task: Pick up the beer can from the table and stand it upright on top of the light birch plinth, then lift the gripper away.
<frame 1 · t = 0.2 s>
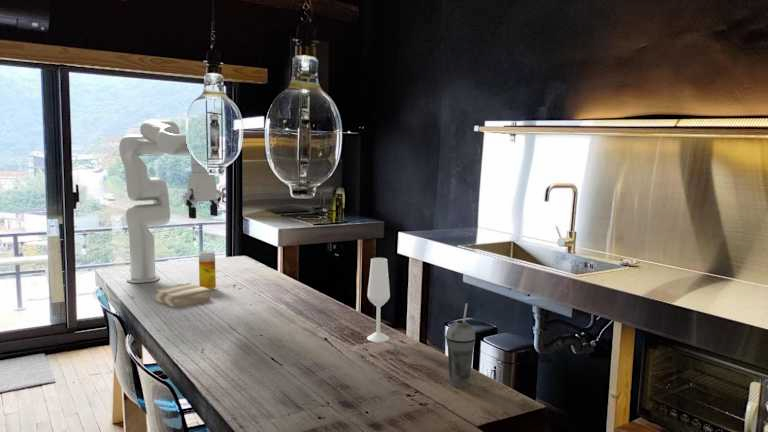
hand: (203, 216, 208), 31 cm above the table, tool pointing down, fingers open, 9 cm apart
beer can: (207, 289, 226), on the table
birch plinth: (182, 300, 210), on the table
champagne flute: (378, 338, 172), on the table
beverage cup: (459, 384, 140), on the table
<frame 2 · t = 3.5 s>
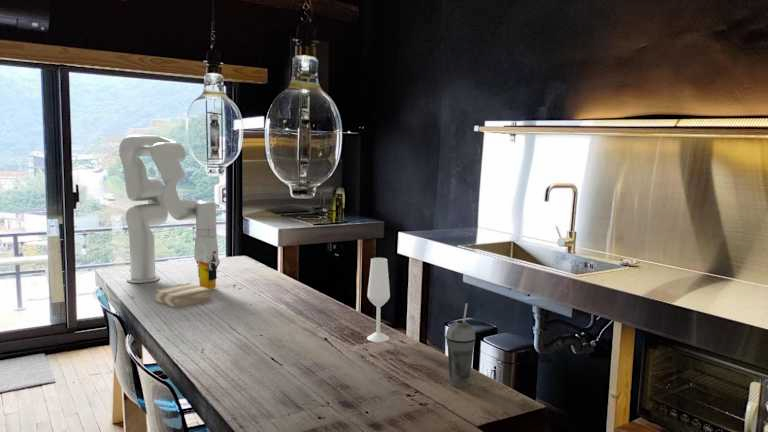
hand: (207, 277, 225), 5 cm above the table, tool pointing down, fingers closed on beer can, 6 cm apart
beer can: (207, 289, 226), on the table, touching gripper
everything else where it was.
when the fingers open (10 cm above the table, at t = 9.8 s): beer can drops 1 cm, resting on birch plinth.
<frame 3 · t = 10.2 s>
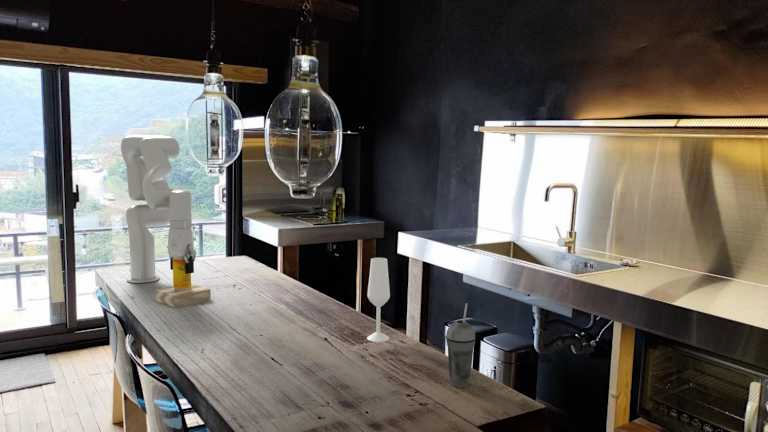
hand: (182, 271, 208), 11 cm above the table, tool pointing down, fingers open, 9 cm apart
beer can: (182, 289, 210), point 4 cm above the table, touching birch plinth
everything else where it was.
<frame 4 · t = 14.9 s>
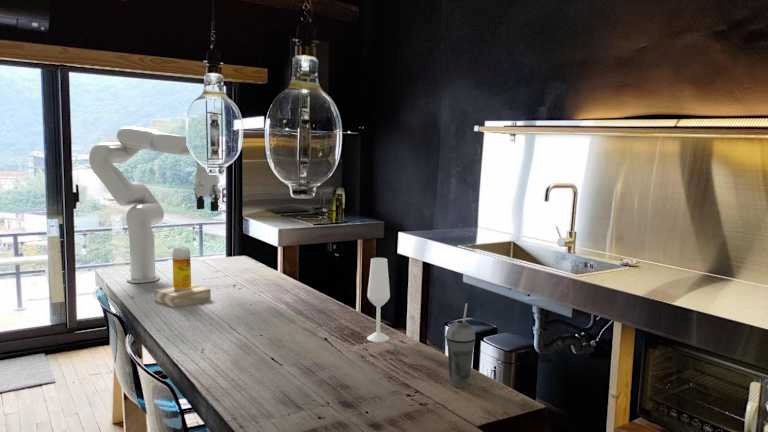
hand: (207, 210, 232), 30 cm above the table, tool pointing down, fingers open, 9 cm apart
nothing on the table moved.
at the end: beer can 0.3 cm off-centre on the birch plinth, point 3.8 cm above the birch plinth's base; beer can tilted 0°; the gripper is holding nothing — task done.
